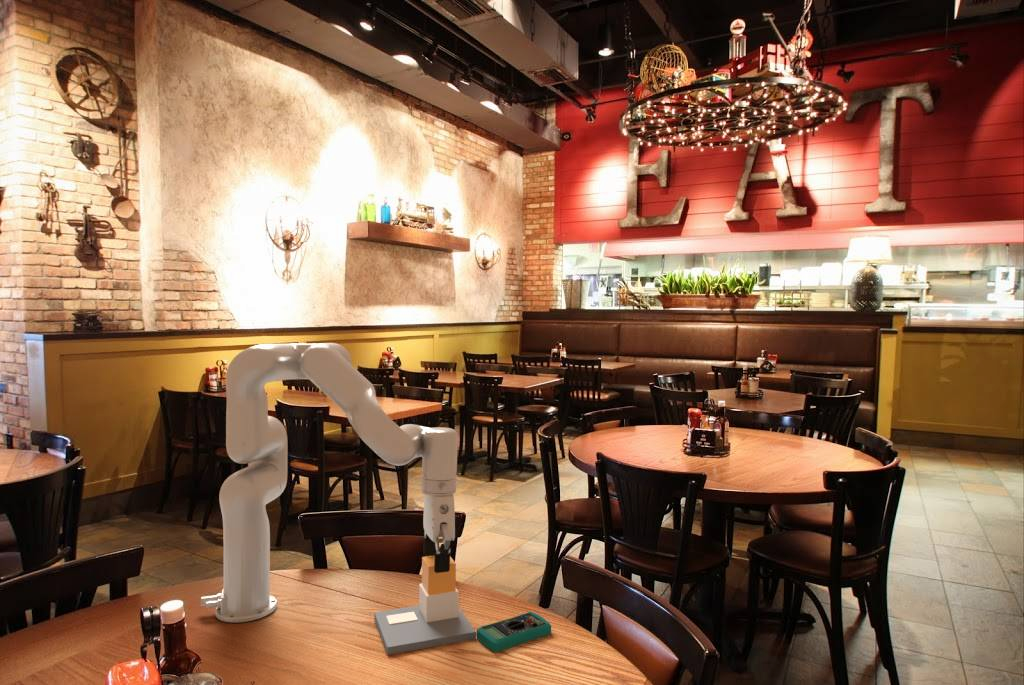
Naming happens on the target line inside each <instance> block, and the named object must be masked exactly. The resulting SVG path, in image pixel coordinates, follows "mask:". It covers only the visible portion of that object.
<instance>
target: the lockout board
mask: <svg viewBox="0 0 1024 685" xmlns="http://www.w3.org/2000/svg"><path fill="white" fill-rule="evenodd" d="M418 586H419V587H418V591H419V593H418V605H415V606H406V607H400V608H392V609H388V610H381V611H374V618H373V619H374V623H375V625H376V628H377V630H378V634H379V635H380V638H381V639H380V640H381V641H382V644H383V647H384V650H385V653H386V655H387V656H390V655H395V654H400V653H406V652H407V653H408V652H413V651H417V650H424V649H429V648H434V647H440V646H445V645H450V644H456V643H462V642H466V641H467V642H468V641H473V640H476V639H477V630H476V629H475V628H474V627H473V626H472V624H471V622H470V621H469V619H468V618H467V616H466V615H465V613H464V612H463V611H462V609H461V608H460V605H459V604H460V600H459V599H460V598H459V597H460V596H459V595H460V592H459V590H458V589H457V588H456V591H453V592H446V593H439V594H432V595H428V594H427V592H426V590H425V589H424V587H423V585H422V582H421V583H419V584H418Z"/></svg>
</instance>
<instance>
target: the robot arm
mask: <svg viewBox="0 0 1024 685" xmlns="http://www.w3.org/2000/svg"><path fill="white" fill-rule="evenodd" d="M287 380H309V381H310V382H311V383H312V384H314V385H315V387H316V388H318V389H319V391H321V392H322V393H323V394H324V395H325V396H326V397H327V398H329V399H330V401H332V402H333V403H334V404H335V405H336V406H337V407H338V408H339V409H340V410H341V411H342V412H343V414H344V415H345V416H346V418H347V420H348V422H349V423H350V425H351V427H352V428H353V430H354V431H355V433H356V434H357V435H358V436H359V438H360V439H361V441H363V443H365V445H367V447H369V448H370V449H371V450H372V451H373V452H374V453H375V454H376V455H377V456H378V457H380V459H382V460H383V461H384V462H386V463H388V464H390V465H393V466H395V467H396V466H398V467H399V466H405V465H407V464H409V463H410V462H412V461H413V460H415V459H417V458H419V457H421V458H422V463H421V489H420V492H421V493H422V494H423V495H424V499H423V500H424V501H423V516H422V518H423V519H422V520H423V522H422V523H423V525H422V526H423V530H424V532H423V536H424V537H423V551H422V552H423V553H422V554H423V557H428V556H435V561H434V571H435V573H441V572H448V571H449V570H450V557H451V547H452V546H451V542H452V541H453V542H454V541H455V538H456V525H455V524H456V522H455V521H456V514H455V512H456V511H455V510H456V509H455V508H456V506H455V498H454V494H456V493H457V477H458V476H457V473H458V472H457V468H458V447H459V444H458V442H459V436H458V431H456V430H455V429H453V428H450V427H446V426H445V427H442V426H440V427H439V426H437V427H428V426H425V425H424V426H423V425H419V424H412V423H409V424H408V423H407V424H403V425H400V426H399V425H398V423H396V422H395V421H393V419H391V418H390V416H389V415H388V414H386V412H385V411H384V410H383V408H382V407H381V406H380V404H379V401H378V399H377V394H376V389H375V386H374V384H373V383H372V382H371V381H370V380H368V379H367V378H366V377H365V376H364V375H363V374H362V373H361V372H360V371H359V370H357V368H355V367H354V365H352V357H351V354H350V352H349V351H348V350H347V348H345V347H344V346H343V345H341V344H339V343H336V342H323V343H322V342H321V343H262V344H261V343H260V344H256V345H253V346H249V347H248V348H246V349H243V350H242V351H241V352H239V353H237V354H236V355H235V357H233V359H232V360H231V361H230V363H229V365H228V367H227V369H226V374H225V394H226V412H225V415H226V416H225V423H226V424H225V436H226V437H225V447H226V453H227V455H228V457H229V458H230V459H231V460H232V461H233V462H235V463H237V464H244V465H245V464H247V467H244V468H241V469H240V470H237V471H236V472H233V473H232V474H230V475H229V476H228V477H227V478H226V479H225V480H224V482H223V483H222V485H221V486H220V490H219V494H218V496H219V498H218V499H219V506H220V507H219V508H220V511H221V515H222V516H221V517H222V528H223V530H222V532H223V534H222V535H223V536H222V537H223V538H222V539H223V540H222V541H223V573H222V575H223V580H222V581H223V588H222V590H221V592H217V593H216V595H203V596H201V597H200V607H203V606H205V609H206V610H207V609H212V608H215V617H216V618H217V619H218V620H220V621H221V622H226V623H247V622H250V621H251V622H252V621H255V620H259V619H261V618H264V617H267V616H268V615H270V614H272V613H273V612H274V611H275V610H276V609H277V606H278V601H277V599H276V597H275V596H273V595H271V592H270V588H271V586H270V585H271V576H270V574H271V573H270V572H271V570H270V569H271V568H270V567H271V530H270V528H271V527H270V520H269V517H268V516H269V515H268V513H267V508H266V505H267V504H269V503H271V502H272V501H274V500H276V499H278V497H280V496H281V495H282V493H284V491H285V489H286V487H287V483H288V450H289V449H288V447H289V446H288V434H287V430H286V428H285V426H284V424H283V423H282V422H281V421H280V420H279V419H278V418H276V417H274V416H271V415H269V413H268V412H269V410H268V409H269V400H268V396H267V392H266V389H265V385H266V384H268V383H272V382H279V381H287Z"/></svg>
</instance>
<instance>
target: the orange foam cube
mask: <svg viewBox="0 0 1024 685" xmlns="http://www.w3.org/2000/svg"><path fill="white" fill-rule="evenodd" d="M434 561H435V556H426V557H425V556H422V557H421V583H422V585H423V587H424V589H425V590H426V592H427V594H428V595H432V594H439V593H446V592H453V591H456V589H457V585H456V583H457V577H456V576H457V562H456V561H455V560H454V559H453V558H452V557H451V556H450V570H449V571H448V572H441V573H435V571H434Z"/></svg>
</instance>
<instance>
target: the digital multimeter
mask: <svg viewBox="0 0 1024 685" xmlns="http://www.w3.org/2000/svg"><path fill="white" fill-rule="evenodd" d="M550 635H552V625H551V623H550V622H549V621H548V620H547V619H546V618H543V616H541V615H540V614H538V613H535V612H533V611H529V612H526V613H522V614H519V615H517V616H514V617H510V618H508V619H503V620H500V621H497V622H493V623H490V624H486V625H482V626H479V627H477V629H476V639H477V640H478V641H479V642H480V643H481V644H482V645H483V646H484V647H486V648H487V649H489V650H490V651H492V652H493V653H499V652H502V651H505V650H508V649H510V648H513V647H516V646H518V645H522V644H525V643H528V642H531V641H533V640H537V639H540V638H543V637H547V636H550Z"/></svg>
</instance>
